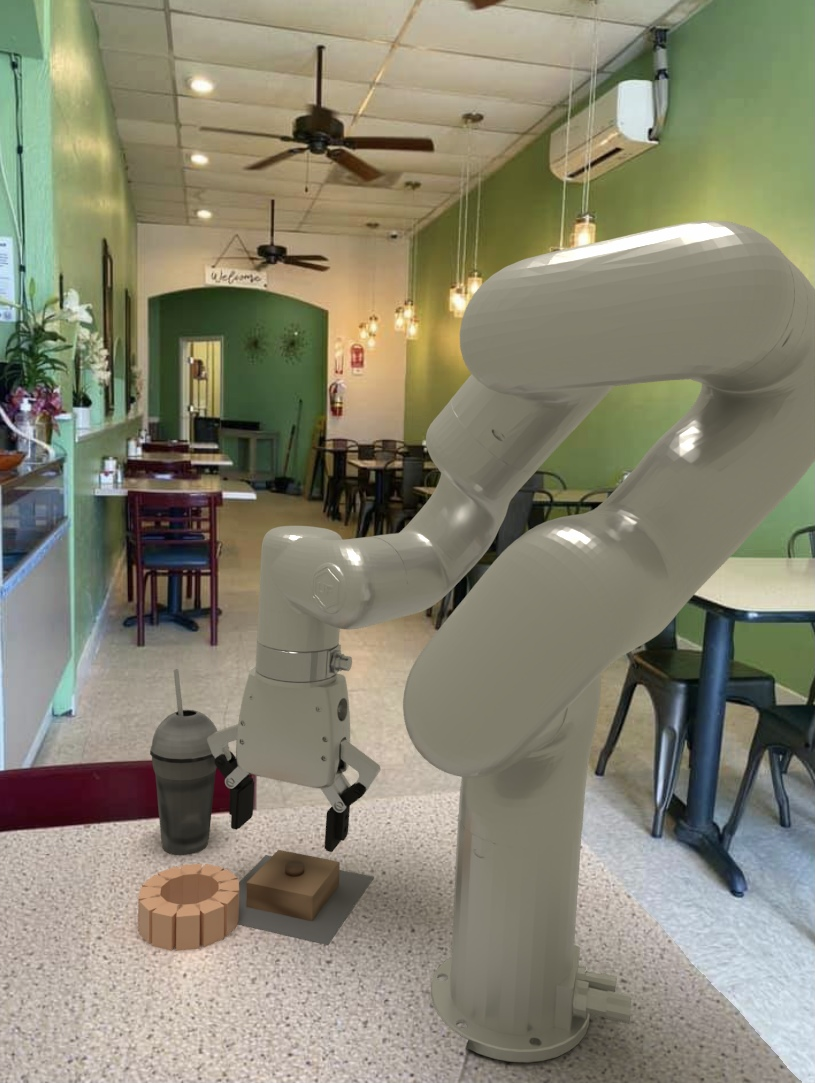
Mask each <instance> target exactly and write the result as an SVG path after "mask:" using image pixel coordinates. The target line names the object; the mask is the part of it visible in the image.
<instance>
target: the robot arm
mask: <svg viewBox="0 0 815 1083" xmlns="http://www.w3.org/2000/svg"><path fill="white" fill-rule="evenodd" d="M459 348H460V352H461V357H462V361H463V362H464V364H465V366H466V368H467V370H468V371H469V373H470V375H469V376H468V378H467V379H466V380H465V382H463V384H462V385H461V386H460V387H459V389H458V390H457V391H456V393H455V394H454V395H453V396H452V397H451V399H450V400H449V401H448V403H447V404H446V405H445V406H444V408H442V410H441V411H440V412H439V414H438V415H437V416H436V417H435V418H434V419H433V421H432V422H431V423H430V425H429V427H428V428H427V431H426V435H425V445H426V450H427V451H428V454H429V457H430V459H431V461H432V462H433V463H434V465H435V467H436V468H437V470H438V471H439V472H440V476H439V477H440V478H439V480H438V482H437V485H436V488H435V489H434V491H433V493H432V494H431V496H430V497H429V499H428V500H427V501H426V503H425V504H424V505H423V506H422V508H421V509H420V510H419V511H417V513H416V514H415V516H414V517H413V518H412V519H411V520H410V521H409V523H408V524H407V525H405V526H404V528H402V530H400V532H396V533H387V534H386V533H385V534H379V535H372V536H365V537H364V536H363V537H357V538H350V539H349V538H348V539H347V538H345V539H343V538H342V536H341V535H340V534H339V533H338V532H336V531H334V530H331V529H329V528H324V527H316V526H309V525H284V526H277V527H274V528H271V529H269V530H268V531H267V532H266V533H265V535H264V536H263V539H262V543H261V549H260V550H261V552H260V569H259V570H260V571H259V592H258V596H259V597H258V608H257V609H258V613H257V632H256V647H255V648H256V652H255V666H254V667H252V668H251V669H250V671H249V673H248V675H247V679H246V683H245V687H244V690H243V695H242V699H241V704H240V709H239V717H238V723H237V724H234V725H231V726H229V727H226V728H222V729H220V730H217V732H215V733H213V734H212V735H210V736H209V737H208V738H207V742H208V744H209V747H210V749H211V752H212V754H213V756H214V757H215V765H216V767H217V768H216V769H218V771H219V772H220V773H221V774H222V776H223V777H224V784H225V786H226V787H227V789H229V801H228V802H229V803H228V804H229V805H228V806H229V807H228V813H229V815H230V817H231V818H230V819H231V821H230V828H231V829H233V830H236V831H237V830H238V829H240V828H242V827H243V826H244V825H245V824H246V823H247V822H248V821H249V820H250V819H251V818H252V817H253V815H254V798H255V797H254V795H255V781H254V777H251V776H250V775H252V776H257V777H260V778H265V779H270V780H274V781H279V782H283V783H288V784H293V785H296V786H300V787H301V786H303V787H307V788H313V789H320V791H321V792H322V793H323V794H324V796H325V798H326V800H327V801H328V802H329V804H330V808H329V809H328V810H327V812H326V818H325V834H324V846H323V847H324V850H325V851H326V852H328V853H329V852H330V853H333V851H334V850H335V849H336V848H337V847H338V846H339V844H340V843H341V842H343V841H345V840H346V838H347V836H348V833H349V824H350V810H351V809H350V808H351V805H353V804H354V803H355V802H357V801H358V800H359V799H361V798H362V797H363V796H364V794H366V793H367V791H368V790H369V789H370V787H371V785H372V784H373V783H374V782H375V780H376V778H377V777H378V775H379V773H380V772H381V766H380V764H379V763H378V762H376V761H375V760H374V759H372V758H370V757H369V756H368V755H367V754H365V753H364V752H363V751H361V750H360V749H359V748H357V747H356V746H355V745H353V744H352V743H351V716H350V715H351V713H350V712H351V711H350V702H349V700H350V699H349V693H348V685H347V680H346V676H345V675H344V674H342V673H339V672H342V671H346V672H349V671H351V669H352V665H353V658H352V656H349V655H345V654H344V653H342V650H341V649H342V645H341V644H340V643H339V642H340V632H341V630H359V629H365V628H367V627H368V628H369V627H372V626H375V625H379V624H382V623H386V622H387V621H392V620H395V619H400V618H403V617H407V616H411V615H416V614H419V613H422V612H424V611H427V610H428V609H430V608H432V607H433V606H435V605H436V604H438V602H440V601H441V600H442V599H444V597H446V596H447V595H448V594H449V592H451V591H452V590H453V589H454V588H455V587H456V585H457V584H458V583H460V582H461V580H462V579H463V578H464V577H465V576H466V575H467V574H468V573H470V571H471V570H472V569H473V568H474V567H475V566H476V565H477V564H478V563H479V562H480V560H481V559H482V558H483V556H484V555H485V554H486V553H487V551H488V550H489V548H490V547H491V545H492V544H493V542H494V541H495V539H496V537H497V534H498V532H499V530H500V527H501V526H502V524H503V522H504V520H505V518H506V515H507V513H508V509H509V505H510V503H511V500H512V499H513V498H514V497H515V495H516V494H517V493H518V492H519V490H521V488H522V487H523V486H524V485H525V484H526V483H527V482H528V480H530V478H532V476H533V475H534V474H535V473H536V472H537V471H538V469H539V468H540V467H541V466H542V465H543V464H544V463H545V462H546V460H547V459H548V458H549V457H550V456H551V455H552V454H553V453H554V452H555V451H556V450H557V449H558V448H559V447H560V445H561V444H562V443H563V442H564V441H565V440H566V439H567V438H568V437H569V436H570V434H571V433H572V432H573V431H575V430H576V428H577V427H578V426H579V425H580V424H582V422H583V421H584V420H585V419H586V418H587V416H589V414H590V413H591V412H592V411H593V410H594V409H595V408H596V407H597V406H598V405H599V403H600V402H602V400H603V399H604V398H605V397H606V396H607V395H608V394H609V392H610V391H611V390H612V389H613V388H614V387H620V386H629V385H636V384H646V383H647V384H648V383H657V382H665V381H666V382H668V381H684V380H691V381H694V382H696V383H700V384H701V389H700V392H699V394H698V395H697V398H696V400H695V402H694V403H693V404H692V406H691V407H690V409H689V410H688V411H687V412H686V413H685V414H684V415H683V416H682V417H681V418H680V419H679V420H678V421H677V422H676V423H674V424H673V425H672V426H671V427H670V428H669V429H668V430H666V432H665V433H664V434H662V435H661V436H660V437H659V439H658V440H657V441H656V442H655V443H654V444H653V445H651V447H650V448H649V449H648V450H647V452H646V453H645V455H644V456H643V457H642V458H641V460H640V461H639V462H638V463H637V465H636V466H635V467H634V468H633V469H632V471H631V472H630V473H629V474H628V475H627V476H626V478H624V480H622V482H621V483H620V484H619V485H618V486H617V487H616V488H615V490H614V491H613V492H612V493H611V494H610V495H609V496H608V497H607V498H606V499H605V500H604V501H603V502H601V503H600V504H599V505H598V506H597V507H595V508H594V509H592V510H589V511H587V512H585V513H580V514H572V515H567V516H566V515H565V516H561V517H557V518H554V519H550V520H547V521H544V522H542V523H540V524H537V525H535V526H533V528H531V529H529V530H527V531H526V532H524V533H523V534H522V535H520V536H519V537H518V538H517V539H516V540H514V541H513V542H512V543H511V544H509V545H508V546H507V547H506V548H505V549H504V550H503V551H502V552H501V553H500V554H499V556H498V557H497V558H496V559H495V560H494V561H493V562H492V564H491V565H490V566H489V567H488V568H487V570H486V571H485V572H484V573H483V575H481V577H480V578H479V579H478V580H477V582H476V583H475V584H474V585H473V586H472V588H471V589H470V591H469V592H468V593H467V594H466V595H465V597H464V598H462V600H461V602H459V604H458V605H457V606H456V608H455V609H453V611H452V613H451V614H450V615H449V616H448V617H447V618H446V620H445V621H444V622H443V623H442V625H440V627H439V629H438V630H437V631H436V632H435V633H434V635H433V636H432V637H431V638H430V640H429V641H428V643H426V645H425V646H424V647H423V649H422V650H421V651H420V652H419V655H418V656H417V657H416V659H415V661H414V662H413V665H412V667H411V669H410V671H409V673H408V676H407V680H406V682H405V685H404V686H405V687H404V691H403V699H402V700H403V701H402V711H403V719H404V720H403V721H404V725H405V728H406V731H407V734H408V736H409V739H410V741H411V744H412V745H413V747H414V748H415V750H417V752H418V754H419V755H420V756H422V758H423V759H424V760H425V761H426V762H428V763H429V764H430V765H432V766H434V767H435V768H436V769H439V771H441V772H443V773H446V774H448V775H452V776H456V777H459V778H460V777H461V781H460V787H459V799H458V800H459V801H458V815H457V835H456V853H455V856H456V858H455V873H454V874H455V876H454V892H453V894H454V896H453V897H454V898H453V916H452V938H451V953H450V954H451V956H450V957H448V958H447V959H446V960H445V961H444V962H442V963H441V964H440V965H439V966H438V968H437V969H436V970H435V972H434V974H433V976H432V979H431V982H430V999H431V1002H432V1003H431V1004H432V1005H433V1008H434V1009H435V1012H436V1014H437V1015H438V1017H439V1018H440V1020H442V1021H443V1022H444V1024H445V1025H446V1026H447V1027H449V1028H450V1030H452V1031H453V1032H454V1033H456V1034H457V1035H458V1036H461V1037H462V1038H463V1039H465V1040H467V1042H466V1045H465V1048H467V1049H468V1050H470V1051H473V1052H474V1053H476V1054H478V1055H482V1056H484V1057H488V1058H489V1059H492V1060H498V1061H499V1060H500V1061H504V1062H511V1063H534V1062H544V1061H546V1060H551V1059H555V1058H558V1057H559V1056H562V1055H563V1054H564V1055H565V1054H566V1053H567V1052H570V1051H572V1049H573V1048H575V1047H576V1046H577V1045H578V1044H580V1043H581V1041H582V1040H583V1038H584V1037H585V1036H586V1034H587V1031H588V1028H589V1025H590V1016H591V1015H592V1016H597V1017H601V1018H605V1020H610V1021H613V1022H618V1023H622V1024H627V1025H630V1022H631V1009H632V1007H631V1006H632V995H630V994H625V993H620V992H616V989H617V976H616V975H612V974H608V973H603V972H595V971H590V970H587V966H584V965H580V954H581V947H580V946H578V945H575V938H576V937H575V935H576V925H577V924H576V921H577V908H578V907H577V906H578V891H579V877H580V865H581V864H580V863H581V862H580V860H581V848H582V847H581V845H582V832H583V826H584V811H585V810H584V809H585V796H586V787H587V777H588V769H589V762H590V757H591V750H592V747H593V741H594V736H595V732H596V728H597V727H596V726H597V722H598V716H599V711H600V705H601V695H602V694H601V693H602V679H601V678H602V677H601V675H602V674H603V673H604V672H605V670H607V669H608V667H610V666H611V665H612V664H614V662H616V661H617V660H618V659H620V658H621V657H623V656H625V655H626V654H628V653H630V652H632V651H633V650H635V649H637V648H639V647H640V646H641V647H642V646H643V645H644V644H646V643H648V642H650V641H651V640H652V639H654V638H656V637H657V636H659V635H660V634H661V633H662V632H663V631H664V630H665V629H666V627H668V625H670V623H671V622H672V621H673V620H674V619H675V617H676V616H677V614H678V613H679V612H680V611H682V609H683V608H684V606H685V605H686V604H687V603H688V602H690V600H691V599H692V598H693V596H694V595H695V594H696V593H697V592H698V591H699V590H700V589H701V588H702V586H704V585H705V583H706V582H708V581H709V579H710V578H711V577H713V575H714V574H715V573H717V571H719V569H720V568H721V567H722V566H723V565H724V564H725V563H726V562H727V561H728V560H729V558H731V557H732V556H733V554H735V553H736V552H737V550H738V549H739V548H740V547H741V545H743V544H744V543H745V541H746V540H747V539H748V538H749V537H750V536H751V535H752V533H753V532H754V531H755V530H756V529H757V528H758V527H759V525H761V524H762V522H763V521H764V520H765V519H766V518H767V517H768V516H769V515H770V514H771V513H772V512H773V511H774V510H775V509H776V507H777V506H778V505H779V504H780V503H781V502H782V501H783V500H784V499H785V498H786V497H787V496H788V495H789V494H790V492H791V491H792V490H793V489H794V488H795V487H796V485H798V483H799V482H800V481H801V480H802V478H803V477H804V476H805V475H806V473H807V472H808V471H809V470H810V468H811V467H812V465H813V464H814V462H815V288H814V286H813V285H812V283H811V282H810V281H809V279H808V278H807V277H806V276H805V274H804V273H803V272H802V270H800V269H799V268H798V267H797V266H796V265H795V264H794V263H793V262H792V260H790V259H789V258H788V257H787V256H786V255H785V253H783V251H782V250H781V249H780V248H779V247H778V246H777V245H776V244H774V243H773V242H772V241H771V240H770V239H769V238H768V237H767V236H765V235H764V234H762V233H760V232H759V231H756V230H755V229H753V228H751V227H748V226H746V225H743V224H740V223H739V224H738V223H736V222H733V221H732V222H731V221H727V220H726V221H724V220H723V221H722V220H697V221H691V222H690V221H689V222H683V223H678V224H672V225H668V226H663V227H658V228H654V229H648V230H645V231H641V232H637V233H636V232H635V233H633V234H632V233H631V234H628V235H623V236H619V237H615V238H611V239H607V240H601V241H597V242H593V243H588V244H583V245H577V246H574V247H573V246H572V247H569V248H565V249H561V250H555V251H551V252H548V253H543V254H539V255H535V256H532V257H527V258H524V259H522V260H518V261H515V263H514V262H513V263H512V264H509V265H507V266H504V267H503V268H502V269H500V270H498V271H496V272H495V273H494V274H492V275H491V276H490V277H488V278H487V279H486V280H485V281H484V282H483V283H482V284H481V285H480V286H479V288H477V289H476V291H475V292H474V293H473V294H472V297H471V298H470V300H469V302H468V303H467V305H466V307H465V310H464V312H463V315H462V318H461V323H460V329H459ZM234 741H236V742H235V746H236V747H235V753H236V754H234V753H233V752H232V751H231V750H230V746H229V743H232V742H234ZM349 766H350V767H351V768H352V769H353V770H355V772H357V773H358V778H357V780H356V782H354V783H353V784H352V785H351V784H350V782H349V781H348V779H347V778H346V776H345V775H344V772H345V773H346V771H348V769H349ZM440 977H444V978H446V979H444V980H441V979H440ZM458 1024H465V1025H466V1026H465V1027H460V1026H458Z"/></svg>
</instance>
